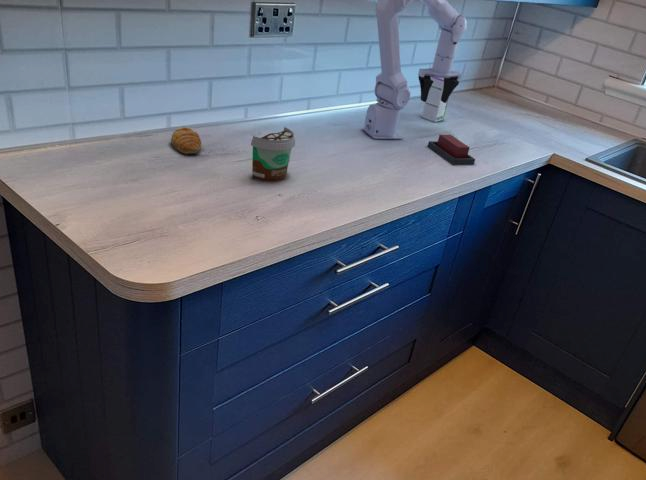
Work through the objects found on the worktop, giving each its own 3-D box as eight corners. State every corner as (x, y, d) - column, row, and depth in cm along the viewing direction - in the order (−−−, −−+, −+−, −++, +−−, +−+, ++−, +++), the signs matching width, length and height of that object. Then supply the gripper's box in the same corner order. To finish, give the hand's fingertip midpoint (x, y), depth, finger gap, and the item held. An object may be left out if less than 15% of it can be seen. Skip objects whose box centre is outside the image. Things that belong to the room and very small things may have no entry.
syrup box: (435, 122, 200) (446, 78, 192) (420, 117, 202) (431, 73, 194) (443, 120, 204) (454, 77, 196) (428, 114, 206) (439, 71, 198)
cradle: (452, 164, 167) (454, 159, 167) (427, 146, 177) (428, 141, 176) (473, 164, 171) (475, 159, 170) (448, 146, 181) (449, 141, 180)
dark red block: (454, 160, 169) (458, 147, 167) (436, 147, 176) (439, 134, 174) (465, 160, 171) (469, 147, 169) (446, 147, 178) (450, 134, 176)
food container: (269, 188, 132) (273, 145, 127) (247, 179, 135) (251, 136, 129) (301, 175, 142) (307, 134, 136) (281, 166, 144) (285, 126, 138)
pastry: (206, 156, 141) (206, 140, 139) (177, 156, 138) (177, 140, 136) (196, 141, 148) (197, 126, 146) (168, 141, 145) (168, 126, 143)
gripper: (431, 57, 171) (420, 104, 179) (471, 61, 178) (459, 106, 185) (419, 51, 176) (408, 97, 184) (458, 54, 183) (447, 99, 190)
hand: (433, 101), depth 185 cm, fingers open, 7 cm apart
